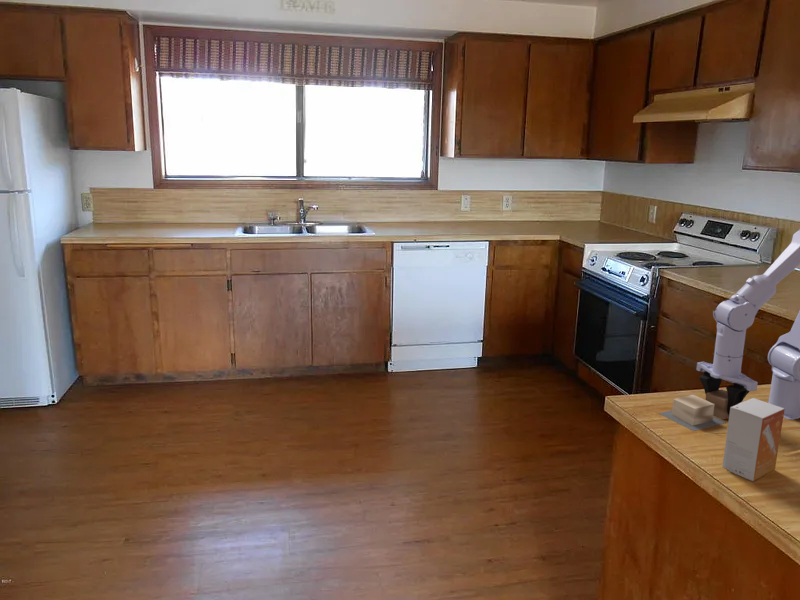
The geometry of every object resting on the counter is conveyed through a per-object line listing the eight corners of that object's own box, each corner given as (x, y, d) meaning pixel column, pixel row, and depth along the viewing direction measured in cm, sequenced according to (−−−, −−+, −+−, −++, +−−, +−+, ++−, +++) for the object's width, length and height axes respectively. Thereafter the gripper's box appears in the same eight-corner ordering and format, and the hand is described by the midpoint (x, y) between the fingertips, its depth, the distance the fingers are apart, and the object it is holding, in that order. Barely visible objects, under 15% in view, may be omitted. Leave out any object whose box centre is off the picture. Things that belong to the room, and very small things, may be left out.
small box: (753, 482, 119) (762, 418, 115) (721, 468, 124) (729, 406, 121) (776, 470, 123) (785, 407, 120) (743, 457, 128) (752, 396, 125)
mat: (690, 407, 151) (690, 405, 151) (726, 424, 143) (726, 422, 142) (658, 414, 148) (658, 413, 148) (693, 432, 139) (693, 430, 139)
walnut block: (719, 409, 150) (721, 389, 149) (737, 417, 146) (740, 397, 145) (703, 412, 149) (706, 392, 147) (722, 421, 144) (724, 400, 143)
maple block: (691, 410, 149) (692, 394, 148) (712, 420, 143) (714, 404, 142) (671, 415, 146) (673, 398, 146) (692, 425, 141) (694, 408, 140)
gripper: (689, 346, 148) (683, 400, 152) (744, 366, 136) (736, 424, 139) (711, 342, 151) (705, 395, 155) (767, 361, 138) (759, 419, 142)
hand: (721, 409), depth 147 cm, fingers closed on walnut block, 5 cm apart
